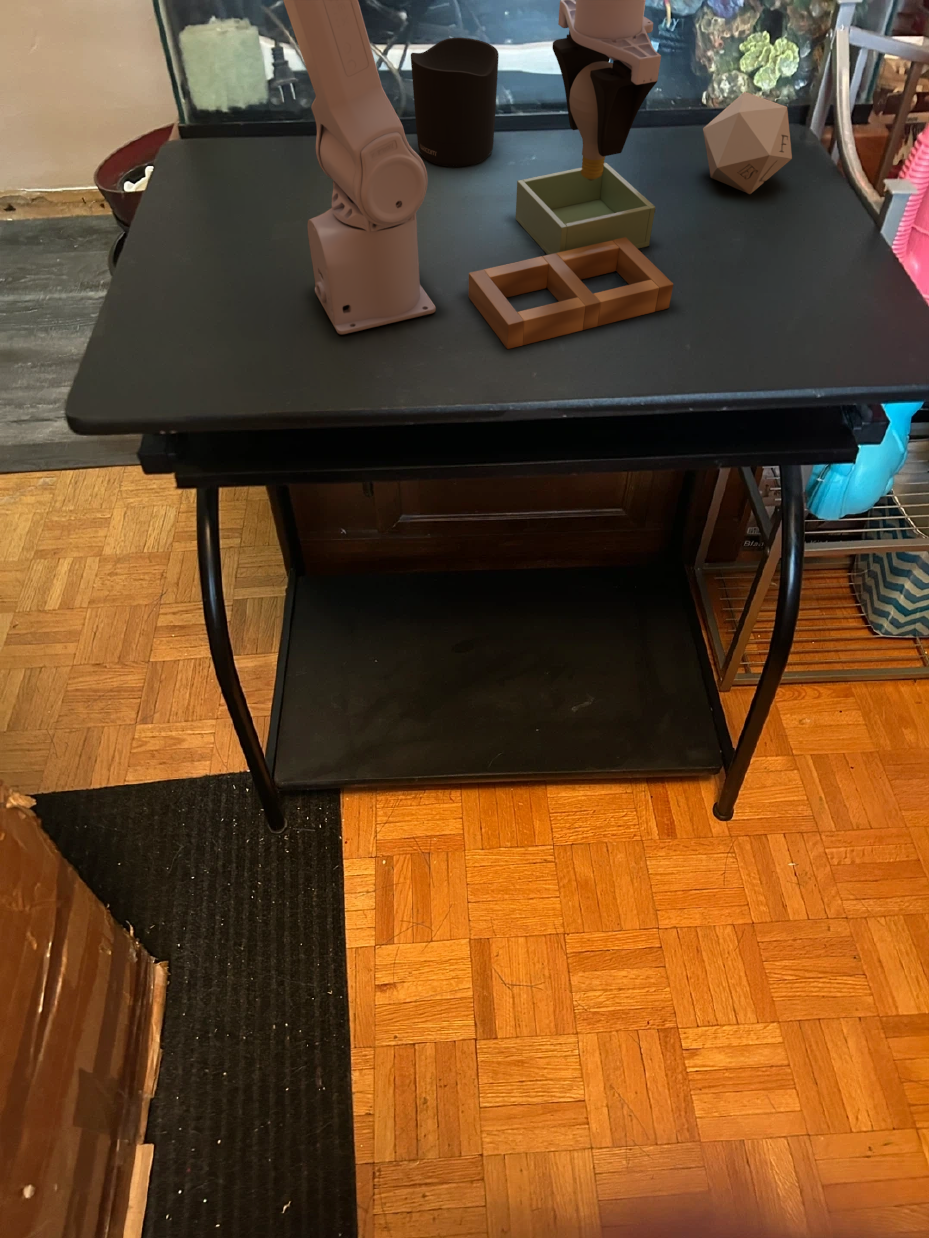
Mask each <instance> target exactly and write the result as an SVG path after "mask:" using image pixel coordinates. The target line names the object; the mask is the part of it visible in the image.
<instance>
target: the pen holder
mask: <svg viewBox="0 0 929 1238" xmlns="http://www.w3.org/2000/svg"><path fill="white" fill-rule="evenodd" d="M499 56H500V55H499V50H498V49H497V48H496V47H495V46H493V45H492V44H490V43H488V42H485V41H483V40H480V39H475V38H469V37H450V38H445V39H442V40H441V41H439V42H437V43H435V44H434V45H432V46H431V47H430V48H427V50H425V51H422V52H411V53H410V65H411V78H412V88H413V89H412V91H413V103H414V116H415V127H416V128H415V129H416V140H417V148H418V151H419V154H421V156H422V157H423V158H424V159H425V160H426V161H428V162H430V163H432V164H435V165H438V166H442V167H452V168H453V167H454V168H455V167H457V168H458V167H459V168H460V167H467V166H473V165H476V164H479V163H481V162H483V161H485V160H486V159H487V158H488V157H490V155H491V153H492V152H493V148H494V140H495V139H494V138H495V126H496V112H497V111H496V107H497V93H498V92H497V91H498V73H499V58H500V57H499Z"/></svg>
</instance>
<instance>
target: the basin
mask: <svg viewBox="0 0 929 1238" xmlns="http://www.w3.org/2000/svg"><path fill="white" fill-rule="evenodd" d="M581 170H582V167H577V168H572V169H567V170H563V171H558V172H553V173H548V174H544V175H539V176H533V177H529V178H524V179H519V180H516V200H515V201H516V202H515V220H516V221H517V222H518V224H519V225H521V227H522V228H523V229H524V230H525V231H526V232H527V233H528V235H529V236H530V237H531V238H532V240H534V241H535V243H536V244H537V245H538V246H539V247H540V248H541V249H542V250H543V251H544V253H545V255H549V254H554V253H559V252H563V251H567V250H572V249H576V248H580V247H585V246H589V245H594V244H598V243H602V242H607V241H611V240H615V239H620V238H624V237H626V238H627V239H628V240H629V241H630V242H631V243H632V244H633V245H634V246H635V247H636V248H637V249H638V250H639V249H642V248H646V247H649V246H650V243H651V242H650V241H651V238H652V237H651V236H652V229H653V226H654V225H653V223H654V218H655V214H656V213H655V212H656V206H655V205H654V204H653V203H652V202H650V200H649V199H647V198H646V197H645V196H644V195H643V194H641V193H640V192H639V191H638V190H637V189H636V188H635V187H634V186H633V185H632V184H630V183H629V181H627V180H626V179H625V178H624V177H623V176H622V175H621V174H619V173H618V172H617V171H616V170H615V168H613V167H612V166H611V165H610V164H608V163H607V162H604V167H603V174H602V176H601V177H599V178H597V179H594V180H593V181H590V180H588V179H587V178H585V177H583V176H582V175H581Z"/></svg>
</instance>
